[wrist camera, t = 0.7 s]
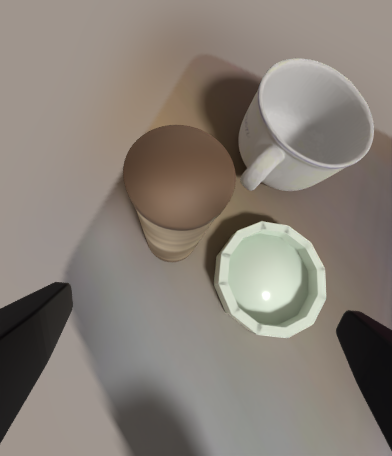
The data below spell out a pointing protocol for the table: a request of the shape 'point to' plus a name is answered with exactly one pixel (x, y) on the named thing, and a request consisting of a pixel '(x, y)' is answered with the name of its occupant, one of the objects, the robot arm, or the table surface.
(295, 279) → the bowl
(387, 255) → the table surface
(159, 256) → the canister
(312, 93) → the teacup
